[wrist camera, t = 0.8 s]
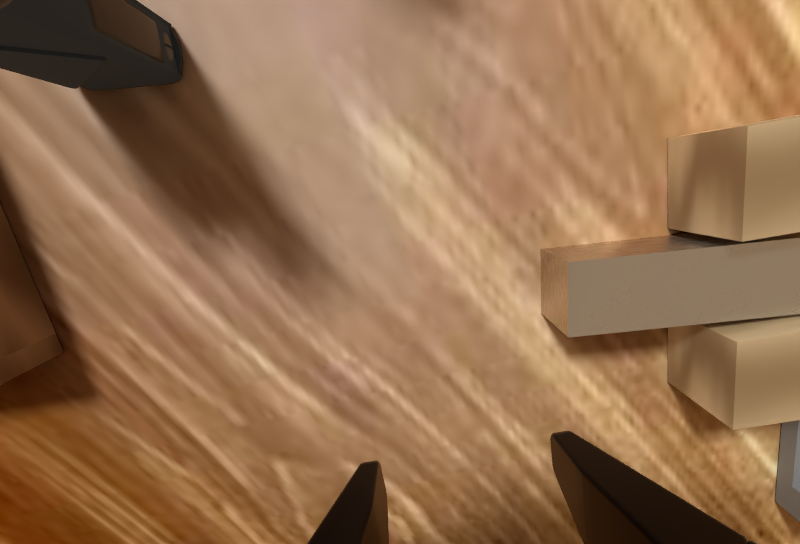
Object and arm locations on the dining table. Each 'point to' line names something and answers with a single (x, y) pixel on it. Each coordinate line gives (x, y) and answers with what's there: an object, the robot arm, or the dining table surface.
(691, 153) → the wooden blocks
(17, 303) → the valet tray
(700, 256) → the bar
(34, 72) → the vaping device
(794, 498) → the v cradle
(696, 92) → the dining table surface
